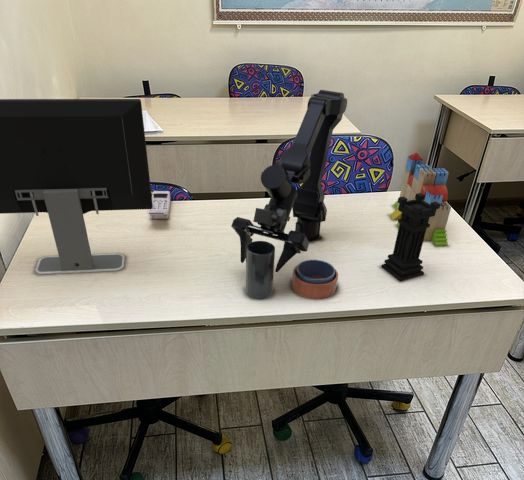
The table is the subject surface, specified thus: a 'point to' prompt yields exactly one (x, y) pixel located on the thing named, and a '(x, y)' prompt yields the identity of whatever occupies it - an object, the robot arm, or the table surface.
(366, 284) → the table surface
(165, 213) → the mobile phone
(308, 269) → the stack middle
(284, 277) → the table surface
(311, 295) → the stack bottom
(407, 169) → the block set
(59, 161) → the computer monitor
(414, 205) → the chess piece
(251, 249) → the tumbler
